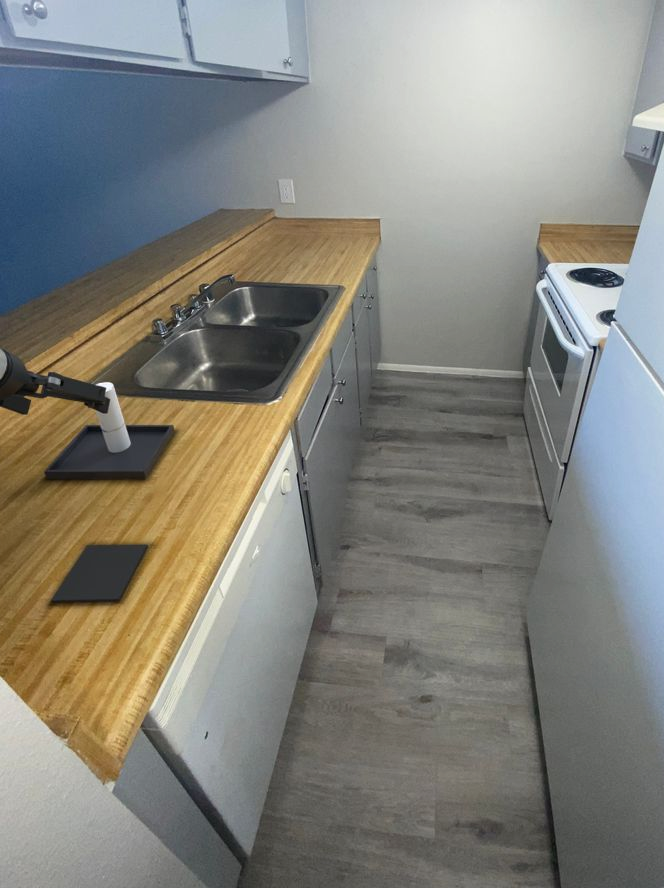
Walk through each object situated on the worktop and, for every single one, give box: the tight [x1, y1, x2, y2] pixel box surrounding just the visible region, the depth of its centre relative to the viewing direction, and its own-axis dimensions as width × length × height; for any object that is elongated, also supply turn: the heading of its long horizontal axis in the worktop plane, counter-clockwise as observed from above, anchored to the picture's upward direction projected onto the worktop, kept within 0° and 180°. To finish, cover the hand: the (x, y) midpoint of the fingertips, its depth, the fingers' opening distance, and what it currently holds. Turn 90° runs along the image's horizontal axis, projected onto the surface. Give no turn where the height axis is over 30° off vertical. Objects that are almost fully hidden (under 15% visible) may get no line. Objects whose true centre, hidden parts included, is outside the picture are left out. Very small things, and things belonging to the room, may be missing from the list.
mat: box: [50, 544, 149, 604], centre depth 76 cm, size 10×10×1 cm
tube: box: [94, 381, 131, 452], centre depth 99 cm, size 4×4×15 cm
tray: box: [43, 424, 176, 480], centre depth 101 cm, size 19×15×2 cm
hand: (67, 406), depth 86 cm, fingers open, 13 cm apart
